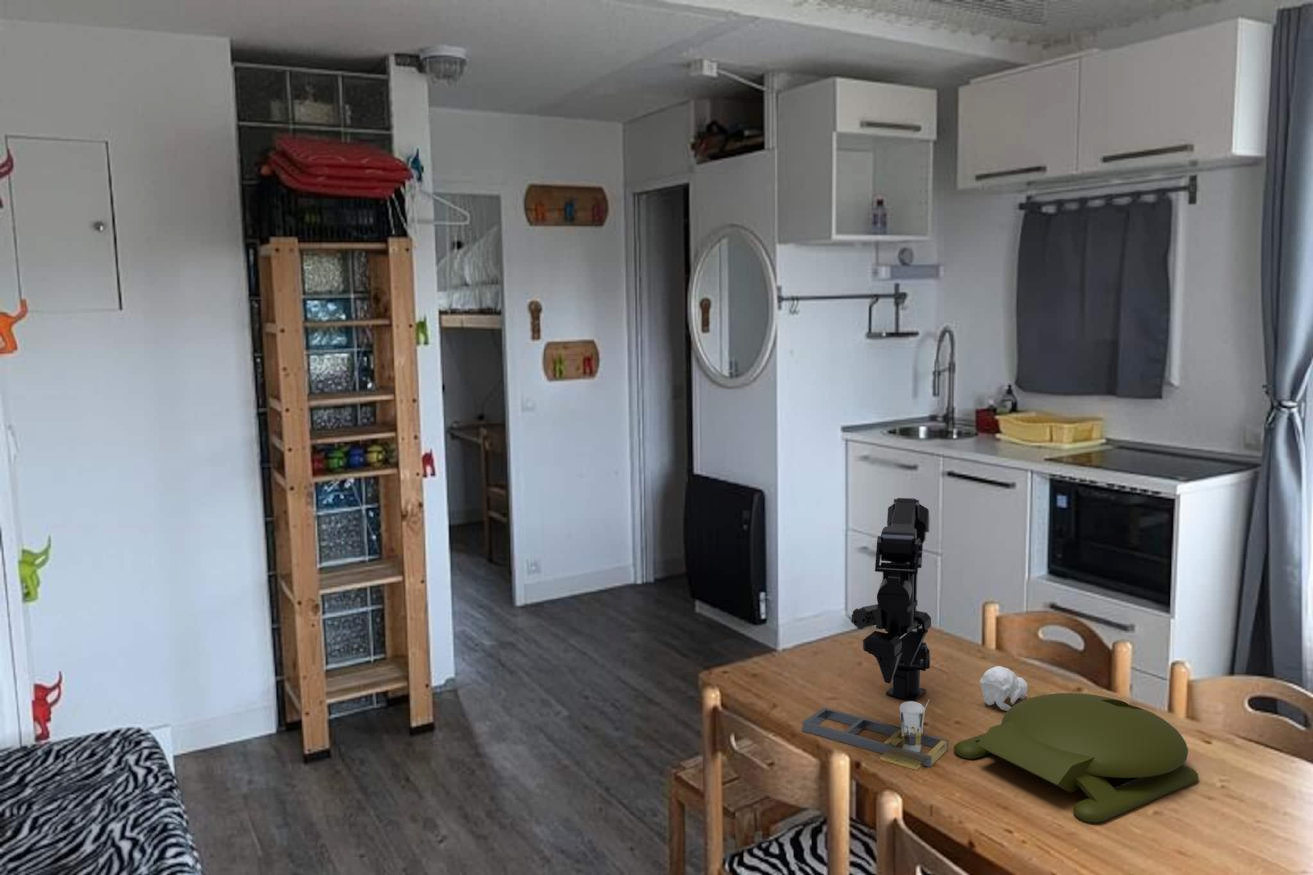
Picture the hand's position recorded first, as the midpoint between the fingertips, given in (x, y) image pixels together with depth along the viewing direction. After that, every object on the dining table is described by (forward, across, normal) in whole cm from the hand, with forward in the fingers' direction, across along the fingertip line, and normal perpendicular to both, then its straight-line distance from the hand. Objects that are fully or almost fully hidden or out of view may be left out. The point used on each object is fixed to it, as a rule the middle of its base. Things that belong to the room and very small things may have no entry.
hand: (897, 674), depth 185 cm
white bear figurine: (+13, -26, +13) cm, 32 cm away
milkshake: (+12, +4, +5) cm, 14 cm away
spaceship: (+13, -8, +32) cm, 35 cm away
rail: (+12, +5, -3) cm, 13 cm away
